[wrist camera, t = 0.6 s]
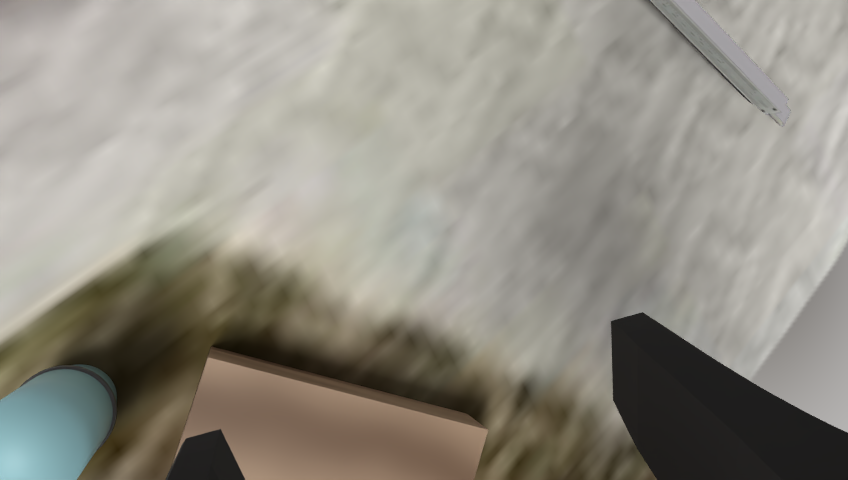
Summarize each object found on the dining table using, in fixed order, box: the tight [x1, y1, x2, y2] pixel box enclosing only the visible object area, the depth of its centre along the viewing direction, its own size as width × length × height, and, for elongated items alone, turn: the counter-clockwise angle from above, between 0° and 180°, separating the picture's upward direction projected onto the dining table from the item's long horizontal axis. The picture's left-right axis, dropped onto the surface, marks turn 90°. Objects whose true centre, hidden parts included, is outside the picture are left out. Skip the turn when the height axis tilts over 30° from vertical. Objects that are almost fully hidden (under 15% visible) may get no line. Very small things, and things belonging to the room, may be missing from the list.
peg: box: [0, 364, 117, 480], centre depth 27 cm, size 4×4×9 cm
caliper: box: [649, 0, 791, 126], centre depth 37 cm, size 21×1×6 cm, turn 60°
